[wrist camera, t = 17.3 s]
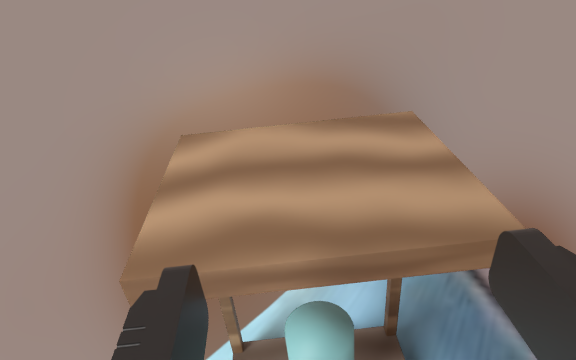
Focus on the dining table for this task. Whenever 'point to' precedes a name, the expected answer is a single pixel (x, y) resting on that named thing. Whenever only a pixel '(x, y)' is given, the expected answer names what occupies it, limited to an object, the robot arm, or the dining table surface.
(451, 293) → the dining table surface
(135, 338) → the robot arm
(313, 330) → the peg
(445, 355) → the dining table surface
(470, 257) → the tan frame
